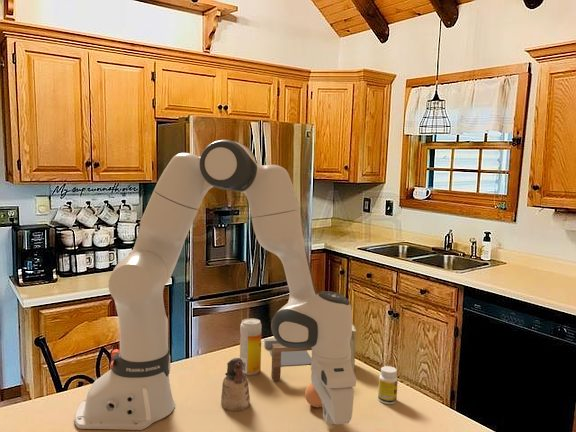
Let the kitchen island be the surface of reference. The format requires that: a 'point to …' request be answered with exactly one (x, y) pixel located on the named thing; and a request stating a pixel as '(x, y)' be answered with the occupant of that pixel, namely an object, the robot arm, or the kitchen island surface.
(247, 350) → the beer can
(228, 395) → the figurine
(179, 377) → the kitchen island surface
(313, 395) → the ball
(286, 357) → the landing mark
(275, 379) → the bridge
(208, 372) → the kitchen island surface
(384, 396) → the supplement bottle
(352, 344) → the skincare box
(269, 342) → the stopper
